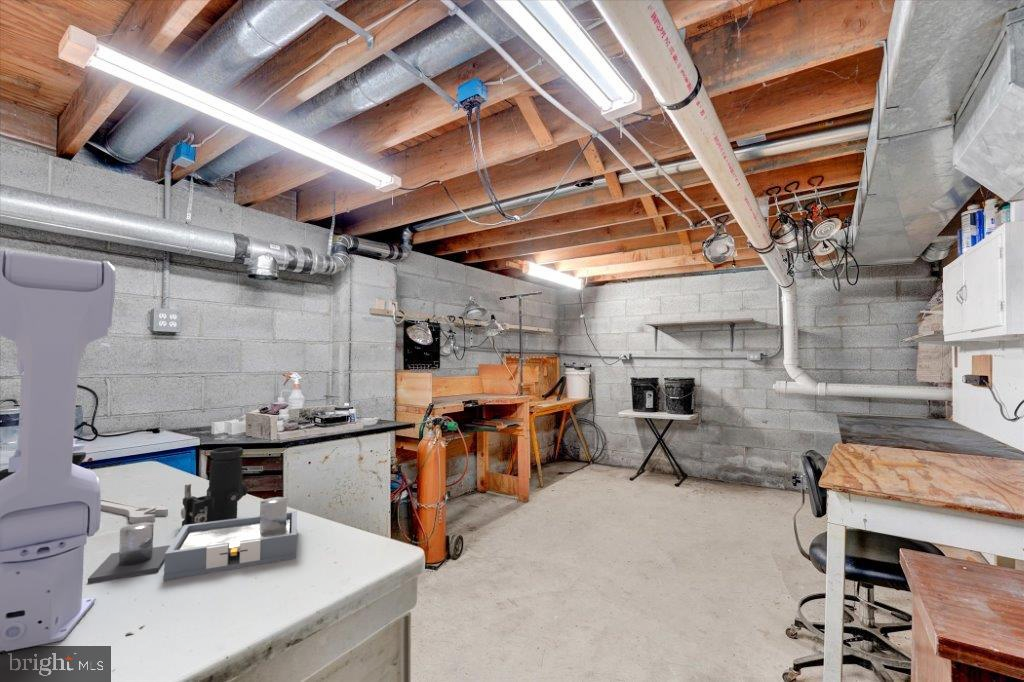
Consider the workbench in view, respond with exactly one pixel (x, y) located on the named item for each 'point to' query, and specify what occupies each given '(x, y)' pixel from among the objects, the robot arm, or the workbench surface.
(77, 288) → the robot arm
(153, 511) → the adjustable wrench
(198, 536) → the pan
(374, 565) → the workbench surface
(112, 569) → the rubber mat
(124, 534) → the cylinder
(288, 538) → the tray
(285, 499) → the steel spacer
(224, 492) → the scope
